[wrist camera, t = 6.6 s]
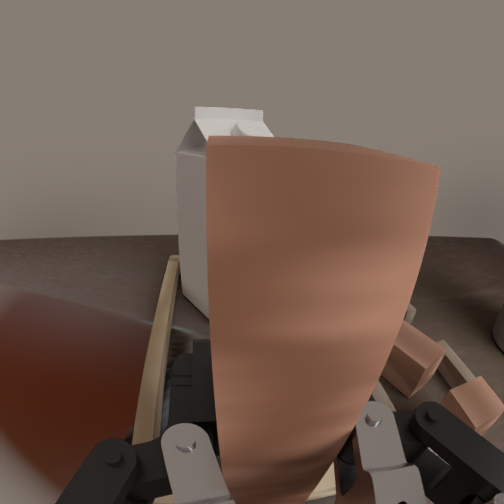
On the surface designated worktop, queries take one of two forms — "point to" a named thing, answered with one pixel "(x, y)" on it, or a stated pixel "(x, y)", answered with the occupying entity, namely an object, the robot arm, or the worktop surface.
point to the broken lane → (451, 368)
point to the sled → (296, 303)
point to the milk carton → (203, 190)
